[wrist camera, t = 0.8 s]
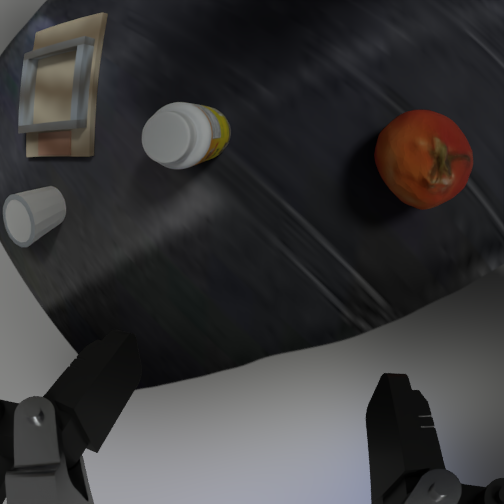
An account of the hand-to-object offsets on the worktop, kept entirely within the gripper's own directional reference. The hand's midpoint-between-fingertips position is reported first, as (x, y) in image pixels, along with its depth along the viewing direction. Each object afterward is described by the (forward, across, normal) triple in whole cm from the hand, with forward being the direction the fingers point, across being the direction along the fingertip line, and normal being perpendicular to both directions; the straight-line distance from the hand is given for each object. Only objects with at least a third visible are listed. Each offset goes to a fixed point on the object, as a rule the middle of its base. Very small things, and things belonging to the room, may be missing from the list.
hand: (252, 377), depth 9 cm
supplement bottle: (+25, +9, -6) cm, 27 cm away
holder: (+25, +29, -12) cm, 40 cm away
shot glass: (+25, +32, +4) cm, 40 cm away
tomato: (+25, -12, -6) cm, 28 cm away
